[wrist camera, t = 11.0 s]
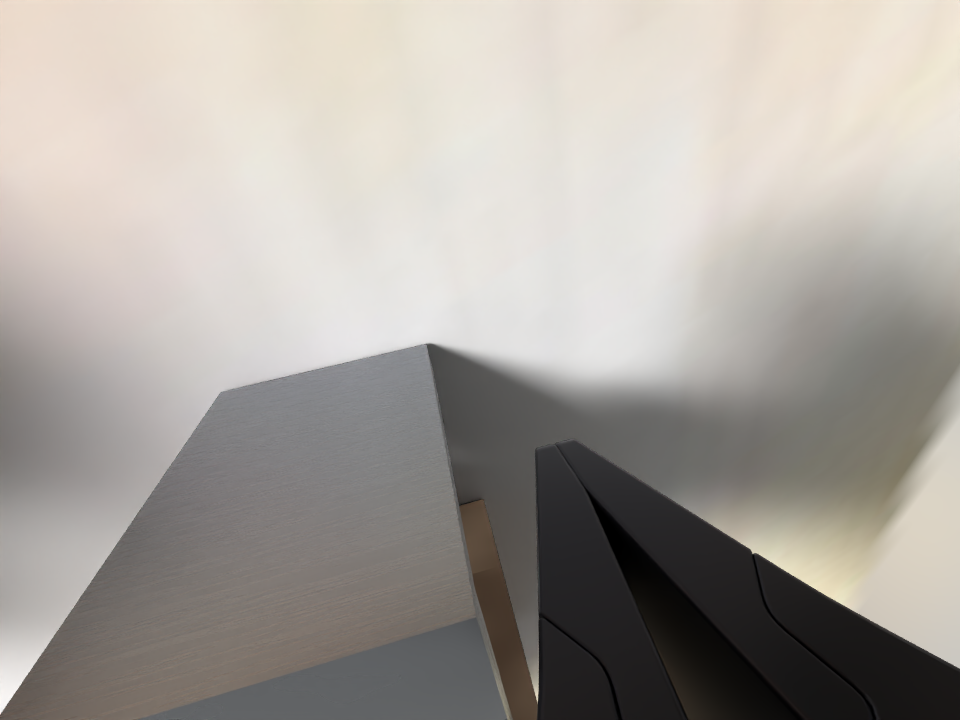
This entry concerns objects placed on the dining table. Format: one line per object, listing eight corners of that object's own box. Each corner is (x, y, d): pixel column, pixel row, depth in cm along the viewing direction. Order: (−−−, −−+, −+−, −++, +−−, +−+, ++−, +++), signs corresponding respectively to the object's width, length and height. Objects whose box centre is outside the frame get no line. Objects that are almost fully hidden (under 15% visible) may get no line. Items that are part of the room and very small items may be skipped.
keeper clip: (426, 343, 10) (476, 617, 4) (465, 495, 13) (527, 786, 7) (220, 391, 10) (-41, 773, 4) (306, 538, 12) (232, 890, 6)
